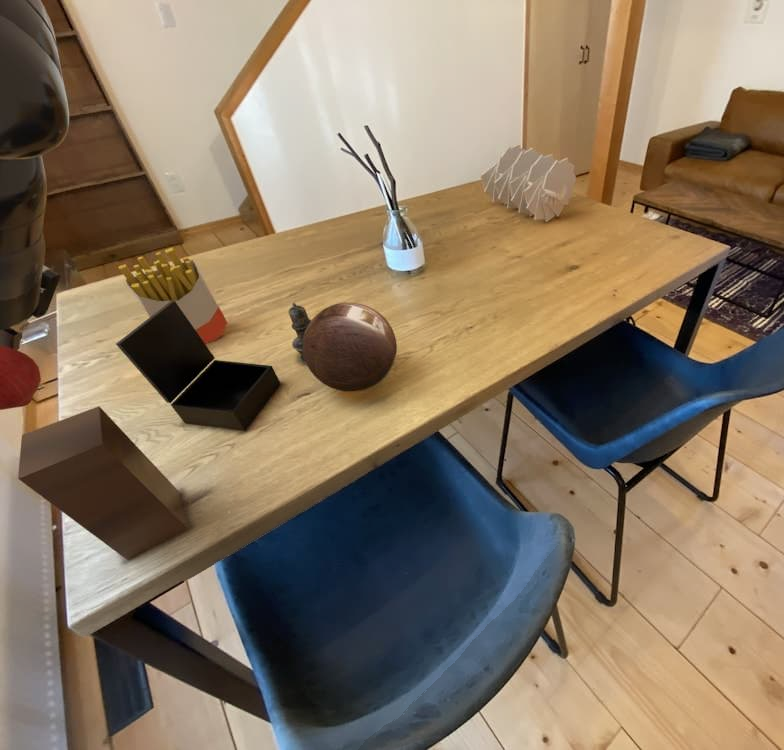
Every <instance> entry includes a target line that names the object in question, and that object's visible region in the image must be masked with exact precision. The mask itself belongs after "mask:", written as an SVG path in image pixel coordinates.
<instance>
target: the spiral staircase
mask: <svg viewBox="0 0 784 750" xmlns="http://www.w3.org/2000/svg"><path fill="white" fill-rule="evenodd" d="M575 167H576V165H575V164H573V163H571V162H570V161H569V157H565V158H563V159H561V160H558V159H555V158H554V154H552V153H551V154H548V155H545V156H544V154H542V152H540V151H535V150H534V147H531V148H529V149H525V148H522V147H521V143H518V144H516V145H514V146H511V145H508V146H507V147H506V149H505V150H504V152H503V153H502V154H501V156H499V157H498V161H497V162H495V163H494V164H493V165H492V166H491V167H489V168H488V169H486V170H485V171H484V172H482V173H481V174H480V180H481V182H482V185H483V189H484V190H483V193H485V194H486V195H487V196H488V197H490V198H491V199H492V201H491V202H492V203H503V205H504V206H505V205H506V209H513V208H516V209H518V212H517V213H518V214H528V216H529V218H530V217H532V216H533V220H534V221H536V220H537V221H538V220H544V222H545V223H548V222H549V221H550V220H552V218H554V217H555V216H556V217H559V216H560V215H561V213H562V210H563V209H564V207H565V206H566V205H567V206H568V205H569V203H570V199H571V198H572V197H574V184H575V183H576V181H577V179H578V178H577V177H576V174H575V172H574V171H575Z"/></svg>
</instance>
